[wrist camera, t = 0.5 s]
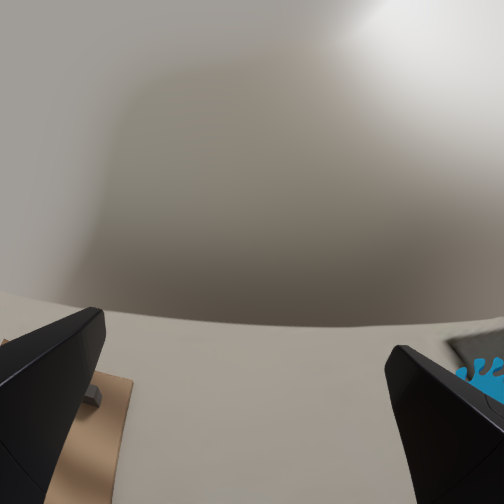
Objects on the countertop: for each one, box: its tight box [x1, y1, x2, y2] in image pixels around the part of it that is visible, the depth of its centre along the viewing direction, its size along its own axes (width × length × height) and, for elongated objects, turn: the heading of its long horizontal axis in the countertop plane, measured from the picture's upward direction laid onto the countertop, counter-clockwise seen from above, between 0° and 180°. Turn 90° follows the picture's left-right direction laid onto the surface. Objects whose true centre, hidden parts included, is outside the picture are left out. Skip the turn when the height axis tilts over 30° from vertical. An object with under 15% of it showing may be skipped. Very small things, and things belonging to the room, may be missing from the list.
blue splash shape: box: [456, 357, 504, 404], centre depth 20 cm, size 11×6×10 cm
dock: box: [1, 339, 134, 504], centre depth 12 cm, size 16×13×2 cm
